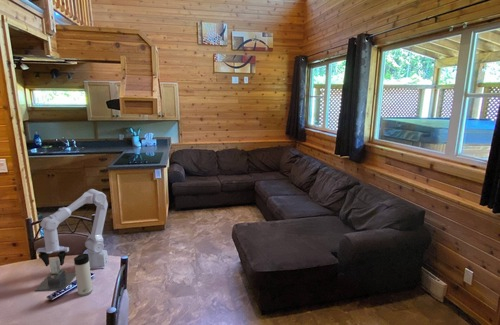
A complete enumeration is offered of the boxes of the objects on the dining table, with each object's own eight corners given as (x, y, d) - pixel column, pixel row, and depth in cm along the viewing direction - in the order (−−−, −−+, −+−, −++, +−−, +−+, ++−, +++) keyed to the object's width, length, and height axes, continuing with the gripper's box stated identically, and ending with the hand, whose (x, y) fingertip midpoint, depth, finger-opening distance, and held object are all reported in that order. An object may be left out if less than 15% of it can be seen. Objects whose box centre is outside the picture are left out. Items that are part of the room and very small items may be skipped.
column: (61, 273, 158) (58, 257, 156) (58, 277, 155) (55, 260, 153) (54, 274, 158) (52, 257, 156) (51, 277, 155) (49, 260, 153)
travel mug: (86, 297, 146) (82, 259, 142) (75, 295, 147) (70, 258, 143) (95, 289, 152) (91, 253, 148) (84, 287, 153) (80, 251, 149)
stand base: (77, 273, 165) (76, 264, 164) (65, 289, 151) (63, 279, 150) (50, 274, 163) (48, 265, 162) (35, 291, 150) (33, 281, 149)
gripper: (31, 244, 148) (35, 269, 151) (62, 243, 149) (66, 268, 152) (39, 238, 155) (43, 262, 157) (69, 237, 156) (72, 261, 159)
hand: (54, 264), depth 155 cm, fingers open, 6 cm apart
